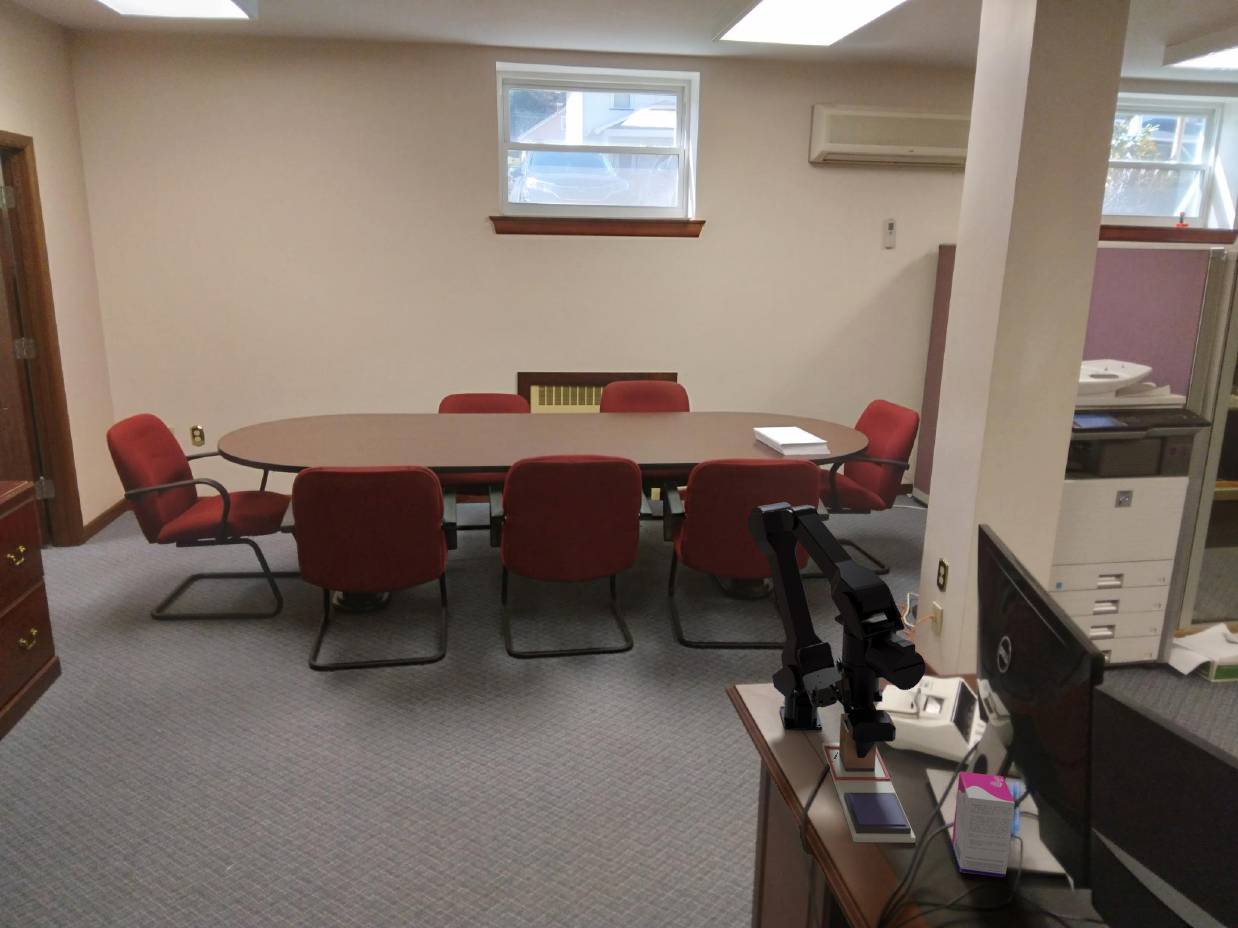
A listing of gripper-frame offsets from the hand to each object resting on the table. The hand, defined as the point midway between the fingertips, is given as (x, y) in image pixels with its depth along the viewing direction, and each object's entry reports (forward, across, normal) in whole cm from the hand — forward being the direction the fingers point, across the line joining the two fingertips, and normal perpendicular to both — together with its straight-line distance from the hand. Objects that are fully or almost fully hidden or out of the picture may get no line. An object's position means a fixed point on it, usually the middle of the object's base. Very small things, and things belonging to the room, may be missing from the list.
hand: (856, 746), depth 124 cm
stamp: (+3, 0, 0) cm, 3 cm away
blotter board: (+4, +6, 0) cm, 7 cm away
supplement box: (+4, +20, +12) cm, 23 cm away
